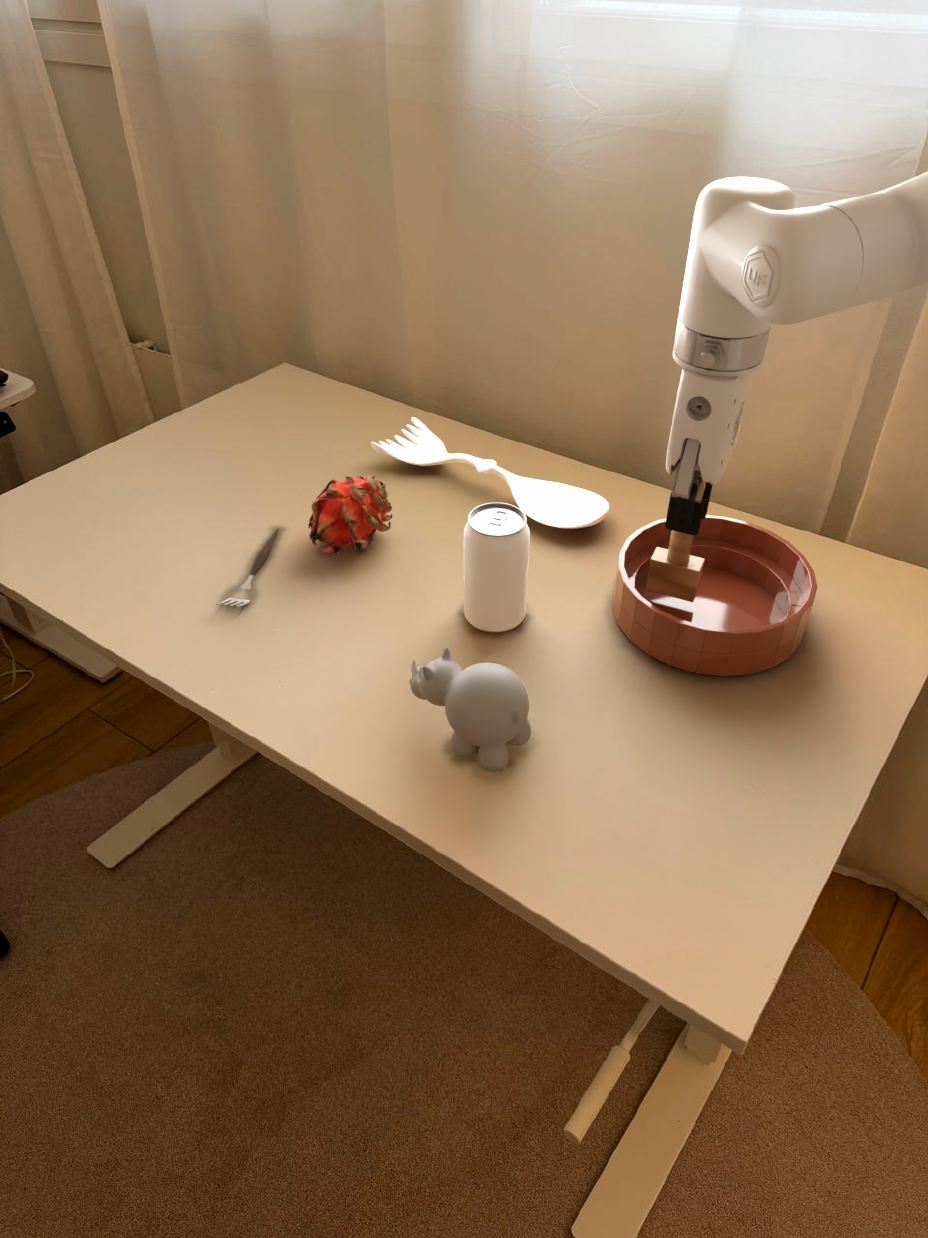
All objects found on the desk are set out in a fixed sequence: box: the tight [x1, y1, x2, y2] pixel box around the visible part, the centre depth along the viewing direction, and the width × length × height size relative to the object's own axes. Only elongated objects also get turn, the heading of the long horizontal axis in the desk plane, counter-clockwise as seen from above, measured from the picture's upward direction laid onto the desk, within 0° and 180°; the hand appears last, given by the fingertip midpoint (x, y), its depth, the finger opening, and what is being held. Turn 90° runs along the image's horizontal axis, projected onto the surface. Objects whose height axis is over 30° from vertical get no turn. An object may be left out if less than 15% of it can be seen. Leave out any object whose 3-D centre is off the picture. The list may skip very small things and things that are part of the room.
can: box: [462, 502, 531, 634], centre depth 89 cm, size 6×6×12 cm
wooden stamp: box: [646, 479, 705, 602], centre depth 88 cm, size 5×2×14 cm, turn 65°
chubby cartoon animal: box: [409, 646, 532, 773], centre depth 78 cm, size 7×12×8 cm, turn 51°
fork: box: [216, 528, 280, 608], centre depth 98 cm, size 3×16×2 cm, turn 170°
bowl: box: [612, 514, 818, 677], centre depth 91 cm, size 19×19×6 cm
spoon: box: [370, 416, 610, 529], centre depth 110 cm, size 9×32×4 cm, turn 53°
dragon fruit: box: [308, 473, 393, 554], centre depth 101 cm, size 8×8×12 cm
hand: (685, 521), depth 87 cm, fingers closed on wooden stamp, 2 cm apart
